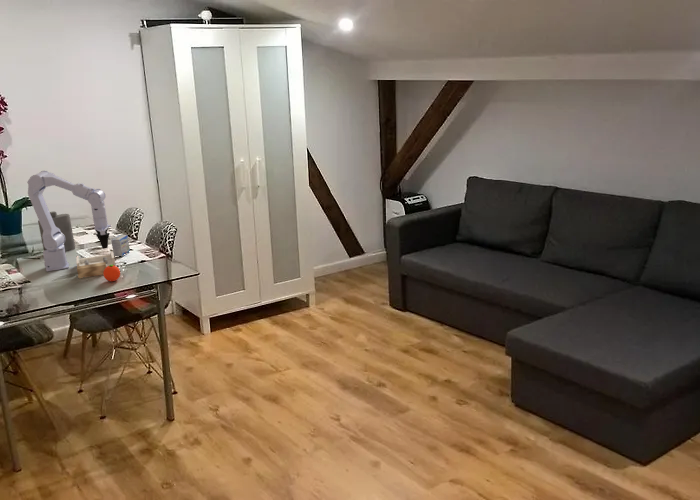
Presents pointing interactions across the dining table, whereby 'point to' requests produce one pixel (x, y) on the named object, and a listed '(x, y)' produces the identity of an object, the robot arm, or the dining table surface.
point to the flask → (62, 229)
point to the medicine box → (120, 245)
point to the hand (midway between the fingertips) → (104, 245)
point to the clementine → (111, 273)
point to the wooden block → (91, 270)
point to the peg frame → (97, 260)
